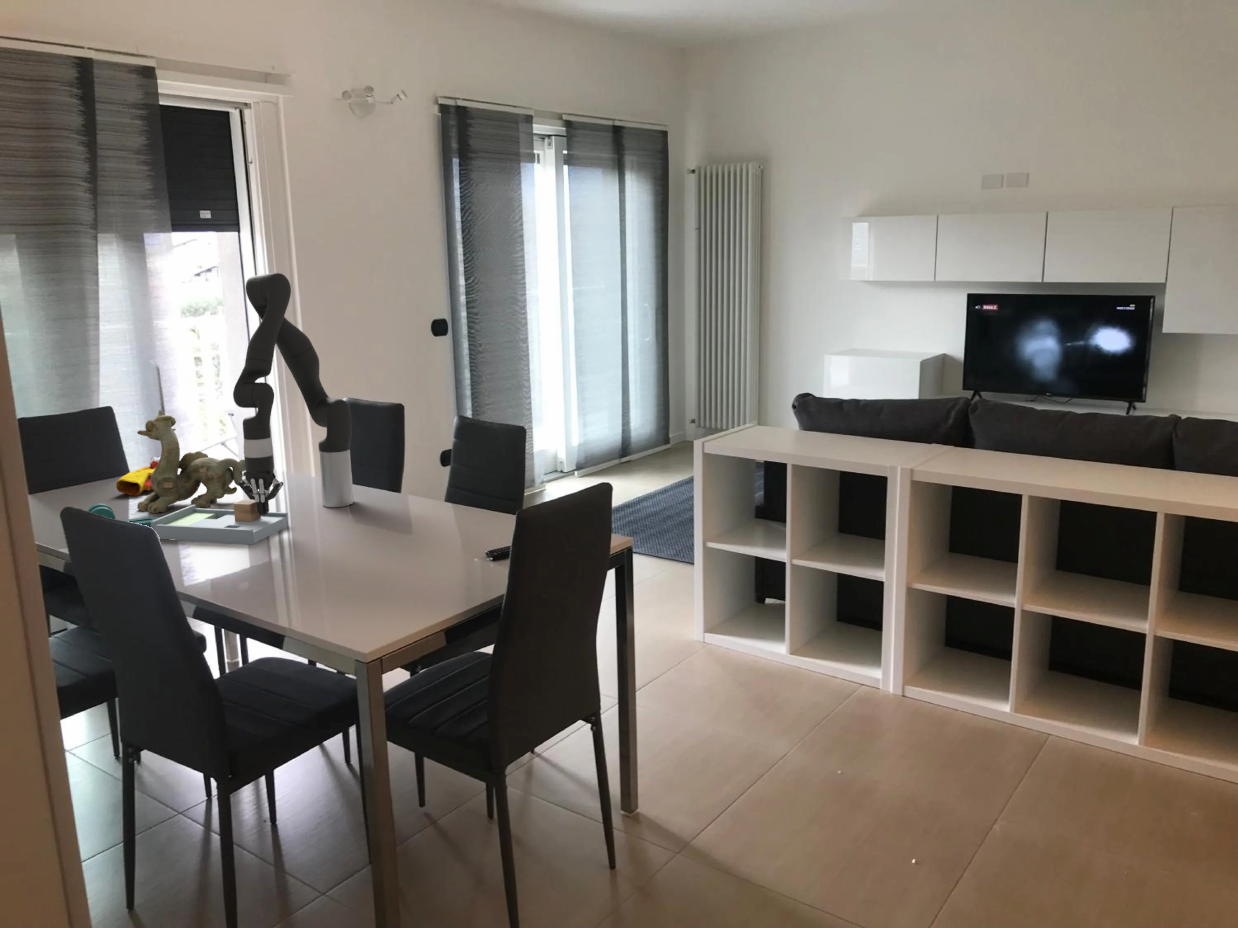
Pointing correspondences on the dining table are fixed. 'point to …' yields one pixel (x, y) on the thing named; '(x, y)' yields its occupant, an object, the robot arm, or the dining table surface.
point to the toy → (137, 479)
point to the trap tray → (217, 526)
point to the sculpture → (186, 471)
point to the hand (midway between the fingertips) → (263, 514)
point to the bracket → (107, 512)
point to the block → (246, 511)
